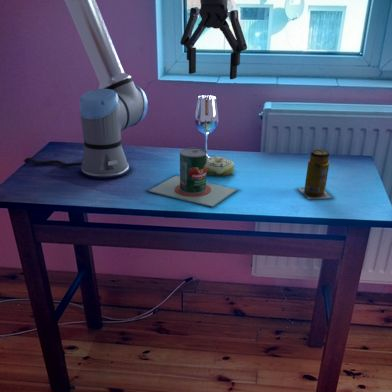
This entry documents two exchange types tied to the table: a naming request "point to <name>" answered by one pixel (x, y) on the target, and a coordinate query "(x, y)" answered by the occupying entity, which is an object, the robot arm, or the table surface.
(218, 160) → the decorated donut
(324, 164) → the condiment
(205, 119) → the wineglass
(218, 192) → the placemat
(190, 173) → the canned tomato
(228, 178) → the table surface
